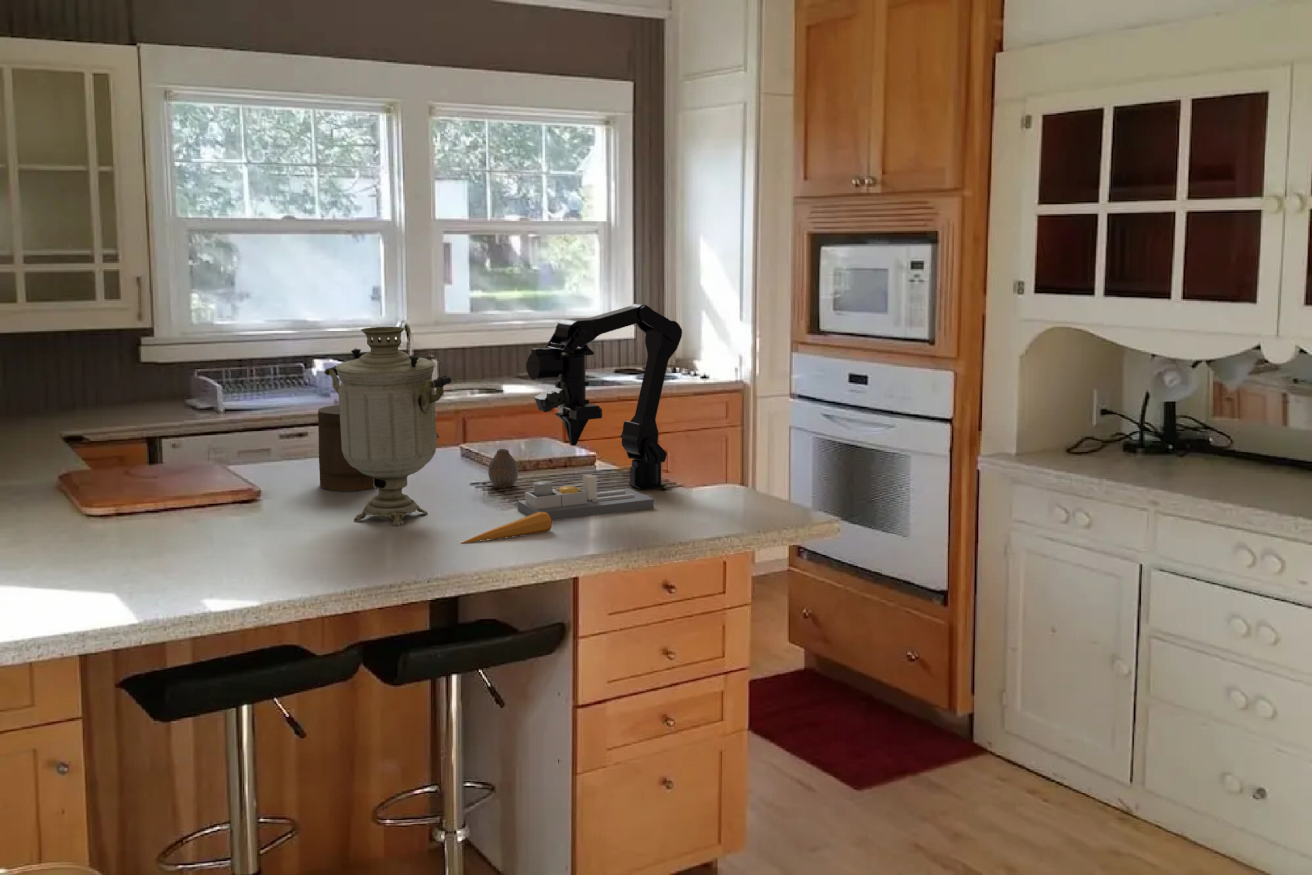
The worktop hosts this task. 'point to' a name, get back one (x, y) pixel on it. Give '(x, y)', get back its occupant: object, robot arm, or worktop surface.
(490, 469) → the vase
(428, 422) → the samovar
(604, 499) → the panel
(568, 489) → the amber button
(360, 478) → the wooden container
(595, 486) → the slider paddle
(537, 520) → the carrot
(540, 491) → the grey button
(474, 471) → the worktop surface
